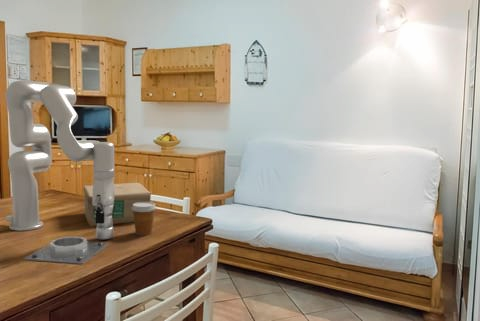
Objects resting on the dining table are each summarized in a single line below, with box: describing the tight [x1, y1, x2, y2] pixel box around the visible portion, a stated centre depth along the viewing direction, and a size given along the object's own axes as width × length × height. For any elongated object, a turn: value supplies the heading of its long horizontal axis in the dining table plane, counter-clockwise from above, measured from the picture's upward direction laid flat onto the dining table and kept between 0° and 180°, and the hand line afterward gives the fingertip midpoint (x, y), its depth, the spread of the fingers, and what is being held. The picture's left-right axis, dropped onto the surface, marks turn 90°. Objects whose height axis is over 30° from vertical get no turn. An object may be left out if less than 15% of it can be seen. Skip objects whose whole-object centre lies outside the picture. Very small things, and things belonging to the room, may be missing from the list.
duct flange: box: [24, 235, 109, 265], centre depth 147 cm, size 20×20×4 cm
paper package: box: [83, 182, 152, 227], centre depth 194 cm, size 27×26×14 cm
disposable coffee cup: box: [132, 201, 157, 236], centre depth 171 cm, size 10×10×12 cm
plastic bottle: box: [95, 197, 115, 241], centre depth 162 cm, size 6×7×20 cm
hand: (104, 220), depth 162 cm, fingers open, 7 cm apart
